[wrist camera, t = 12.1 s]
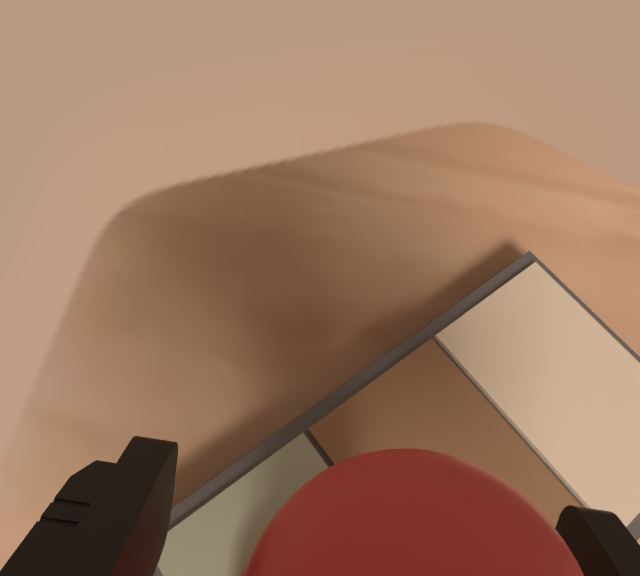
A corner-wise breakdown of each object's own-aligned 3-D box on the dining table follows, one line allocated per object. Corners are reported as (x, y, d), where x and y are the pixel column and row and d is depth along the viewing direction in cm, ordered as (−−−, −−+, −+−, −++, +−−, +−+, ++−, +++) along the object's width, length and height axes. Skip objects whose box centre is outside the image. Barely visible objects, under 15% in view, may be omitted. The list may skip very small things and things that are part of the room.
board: (516, 266, 23) (531, 248, 22) (700, 449, 20) (729, 438, 19) (134, 544, 17) (125, 539, 15) (321, 869, 14) (328, 895, 13)
